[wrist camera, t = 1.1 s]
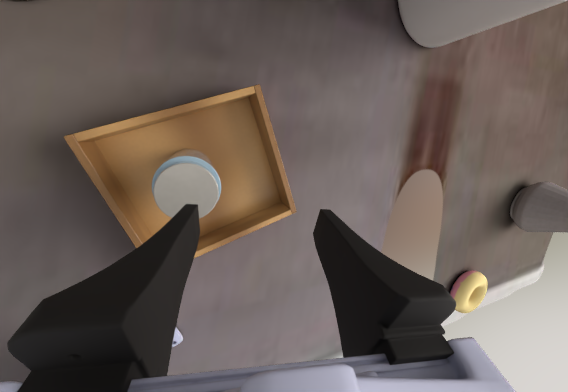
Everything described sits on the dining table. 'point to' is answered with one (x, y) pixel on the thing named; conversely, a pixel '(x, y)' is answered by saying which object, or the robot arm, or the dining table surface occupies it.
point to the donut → (469, 291)
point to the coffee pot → (541, 208)
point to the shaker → (186, 183)
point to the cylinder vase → (461, 17)
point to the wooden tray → (199, 136)
